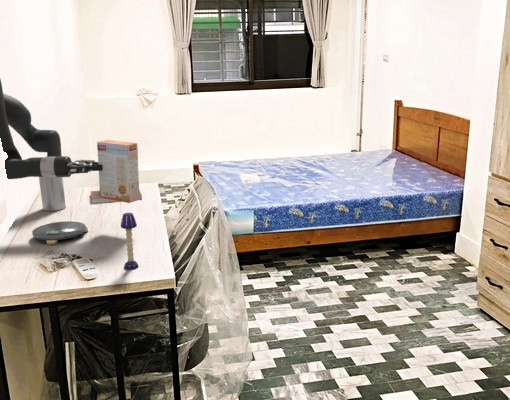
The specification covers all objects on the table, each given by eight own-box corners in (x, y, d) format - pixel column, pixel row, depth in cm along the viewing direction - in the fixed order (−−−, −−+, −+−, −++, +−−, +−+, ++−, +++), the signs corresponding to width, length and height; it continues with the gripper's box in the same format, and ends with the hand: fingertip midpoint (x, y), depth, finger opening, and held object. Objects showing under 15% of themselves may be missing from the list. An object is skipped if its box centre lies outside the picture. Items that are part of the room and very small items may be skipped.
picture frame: (138, 191, 259) (91, 196, 253) (137, 186, 258) (90, 190, 252) (142, 200, 244) (92, 204, 238) (141, 194, 243) (91, 199, 237)
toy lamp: (125, 264, 167) (120, 211, 163) (140, 263, 168) (136, 211, 163) (123, 270, 163) (118, 216, 159) (138, 269, 163) (134, 215, 159)
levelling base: (44, 229, 204) (42, 218, 203) (92, 227, 204) (91, 217, 203) (24, 246, 185) (22, 234, 184) (77, 244, 186) (75, 233, 185)
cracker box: (140, 200, 197) (138, 142, 192) (129, 203, 192) (126, 145, 186) (111, 194, 204) (108, 138, 198) (99, 198, 198) (96, 141, 193)
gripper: (48, 160, 189) (98, 159, 189) (61, 153, 202) (108, 152, 203) (50, 181, 191) (99, 180, 191) (63, 172, 204) (109, 172, 204)
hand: (103, 166), depth 197 cm, fingers closed on cracker box, 4 cm apart
